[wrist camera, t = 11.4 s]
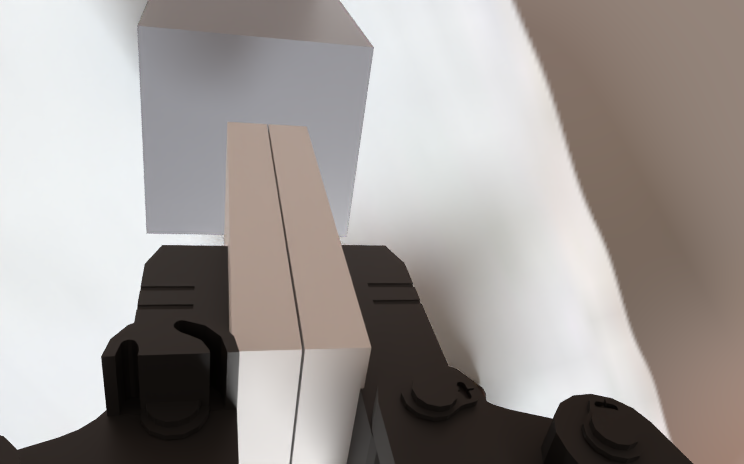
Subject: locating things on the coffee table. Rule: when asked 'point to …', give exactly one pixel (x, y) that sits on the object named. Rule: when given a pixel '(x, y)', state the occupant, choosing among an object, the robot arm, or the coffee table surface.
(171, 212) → the grey matte cube
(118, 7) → the coffee table surface
